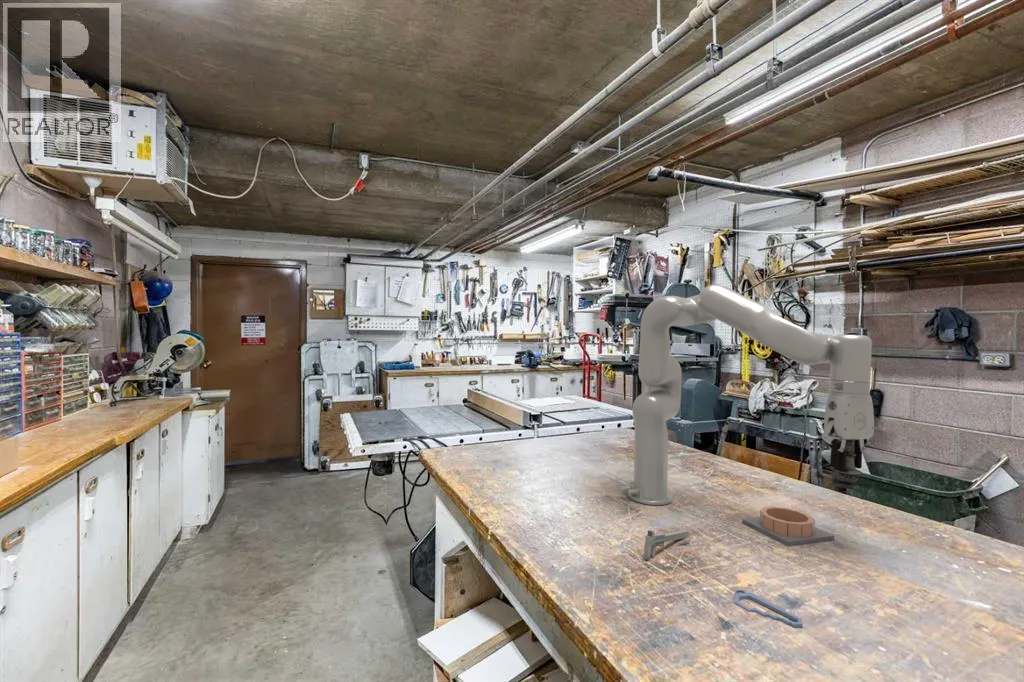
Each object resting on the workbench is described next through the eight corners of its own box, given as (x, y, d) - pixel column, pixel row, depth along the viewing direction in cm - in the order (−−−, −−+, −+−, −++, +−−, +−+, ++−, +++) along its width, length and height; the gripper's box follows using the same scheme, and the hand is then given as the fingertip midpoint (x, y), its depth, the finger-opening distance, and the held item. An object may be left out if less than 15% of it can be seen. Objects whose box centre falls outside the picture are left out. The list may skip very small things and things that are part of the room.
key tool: (791, 638, 76) (807, 625, 78) (791, 632, 76) (807, 619, 78) (724, 602, 86) (740, 592, 89) (724, 597, 86) (740, 587, 89)
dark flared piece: (855, 483, 110) (857, 432, 110) (865, 491, 104) (867, 437, 104) (826, 479, 112) (828, 430, 112) (834, 487, 106) (836, 435, 106)
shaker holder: (788, 546, 108) (788, 529, 108) (742, 522, 121) (742, 507, 121) (834, 539, 112) (834, 523, 112) (784, 517, 125) (785, 502, 125)
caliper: (648, 562, 99) (649, 533, 99) (643, 561, 100) (644, 531, 100) (691, 535, 114) (691, 509, 114) (686, 533, 115) (687, 508, 114)
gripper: (837, 390, 102) (833, 474, 102) (893, 390, 106) (889, 470, 107) (806, 386, 109) (803, 464, 109) (860, 386, 114) (856, 461, 114)
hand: (845, 466), depth 108 cm, fingers closed on dark flared piece, 4 cm apart
